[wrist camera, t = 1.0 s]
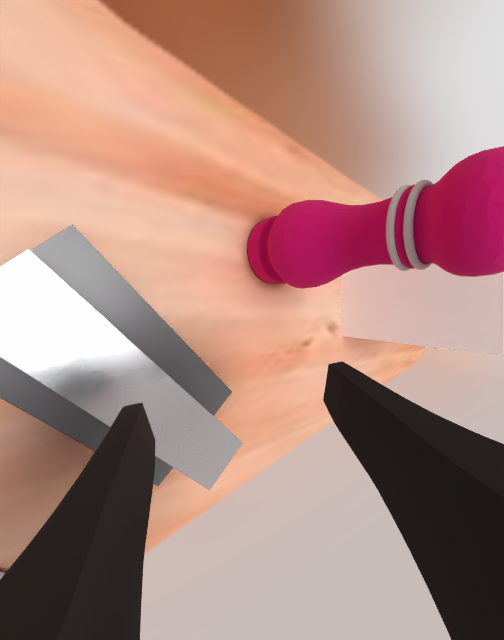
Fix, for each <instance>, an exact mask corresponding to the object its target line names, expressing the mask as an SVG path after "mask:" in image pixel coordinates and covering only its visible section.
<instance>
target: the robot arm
mask: <svg viewBox="0 0 504 640" xmlns="http://www.w3.org/2000/svg"><path fill="white" fill-rule="evenodd" d="M323 401H324V403H325V405H326V407H327V409H328V411H329V413H330V415H331V417H332V419H333V421H334V422H335V424H336V426H337V427H338V429H339V431H340V432H341V434H342V435H343V437H344V438H345V440H346V441H347V443H348V444H349V446H350V447H351V449H352V451H353V452H354V453H355V455H356V456H357V458H358V459H359V461H360V463H361V464H362V466H363V467H364V469H365V470H366V472H367V473H368V474H369V476H370V478H371V479H372V481H373V483H374V484H375V486H376V488H377V489H378V491H379V493H380V495H381V497H382V498H383V500H384V502H385V504H386V506H387V507H388V509H389V511H390V513H391V515H392V517H393V519H394V521H395V523H396V525H397V526H398V528H399V530H400V532H401V534H402V536H403V538H404V540H405V542H406V544H407V546H408V548H409V549H410V551H411V554H412V556H413V558H414V560H415V562H416V564H417V566H418V568H419V570H420V572H421V574H422V576H423V578H424V580H425V582H426V584H427V586H428V589H429V591H430V593H431V595H432V598H433V600H434V602H435V604H436V606H437V609H438V611H439V613H440V615H441V617H442V619H443V622H444V624H445V626H446V628H447V630H448V633H449V635H450V637H451V640H504V444H502V443H499V442H497V441H494V440H492V439H489V438H487V437H484V436H482V435H480V434H477V433H475V432H473V431H470V430H468V429H466V428H464V427H461V426H459V425H457V424H455V423H453V422H451V421H449V420H446V419H444V418H442V417H440V416H438V415H436V414H434V413H432V412H430V411H428V410H426V409H424V408H422V407H421V406H419V405H417V404H415V403H413V402H411V401H409V400H408V399H405V398H404V397H402V396H400V395H399V394H397V393H395V392H393V391H392V390H390V389H388V388H386V387H385V386H383V385H381V384H380V383H378V382H376V381H375V380H373V379H371V378H370V377H368V376H366V375H365V374H363V373H361V372H360V371H358V370H356V369H354V368H353V367H351V366H349V365H348V364H346V363H344V362H338V363H333V364H329V366H328V373H327V379H326V386H325V393H324V399H323ZM154 473H155V437H154V434H153V432H152V429H151V426H150V423H149V420H148V417H147V414H146V411H145V409H144V406H143V403H137V404H132V405H127V406H124V407H123V408H122V409H121V410H120V412H119V414H118V415H117V417H116V419H115V421H114V422H113V424H112V426H111V427H110V429H109V430H108V432H107V434H106V435H105V437H104V439H103V440H102V442H101V443H100V445H99V447H98V448H97V450H96V451H95V453H94V454H93V456H92V457H91V459H90V460H89V462H88V463H87V465H86V467H85V468H84V470H83V471H82V473H81V474H80V476H79V477H78V478H77V480H76V481H75V483H74V484H73V486H72V487H71V488H70V490H69V491H68V493H67V494H66V495H65V497H64V498H63V500H62V501H61V502H60V504H59V505H58V507H57V508H56V509H55V511H54V512H53V513H52V515H51V516H50V517H49V519H48V520H47V521H46V523H45V524H44V525H43V527H42V528H41V529H40V531H39V532H38V533H37V535H36V536H35V537H34V538H33V540H32V541H31V542H30V543H29V545H28V546H27V547H26V549H25V550H24V551H23V552H22V554H21V555H20V556H19V557H18V559H17V560H16V561H15V562H14V563H13V565H12V566H11V567H10V568H9V569H8V571H7V572H6V573H4V572H0V640H140V619H141V618H140V617H141V597H142V596H141V595H142V577H143V561H144V551H145V542H146V535H147V527H148V520H149V512H150V504H151V497H152V489H153V481H154Z"/></svg>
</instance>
